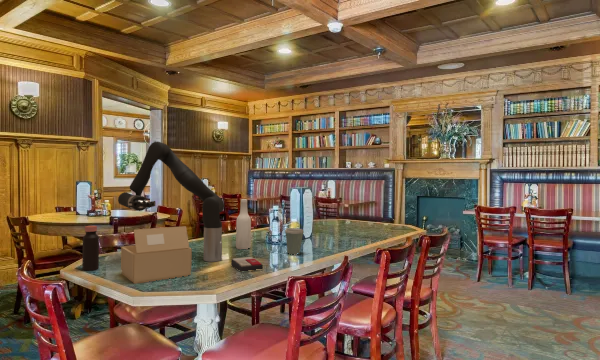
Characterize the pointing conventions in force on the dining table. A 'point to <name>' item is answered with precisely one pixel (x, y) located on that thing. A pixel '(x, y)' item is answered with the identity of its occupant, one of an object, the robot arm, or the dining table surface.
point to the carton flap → (161, 239)
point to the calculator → (246, 264)
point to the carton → (155, 264)
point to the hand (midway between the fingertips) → (148, 205)
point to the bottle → (90, 249)
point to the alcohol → (243, 227)
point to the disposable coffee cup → (293, 240)
